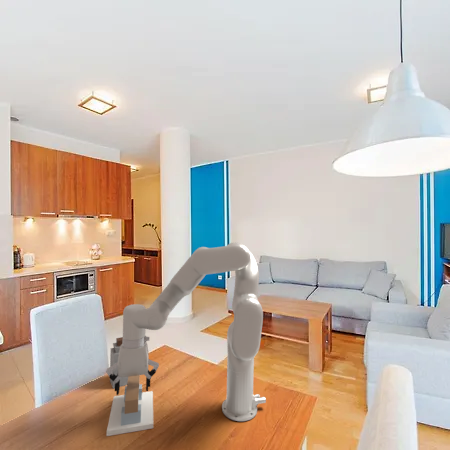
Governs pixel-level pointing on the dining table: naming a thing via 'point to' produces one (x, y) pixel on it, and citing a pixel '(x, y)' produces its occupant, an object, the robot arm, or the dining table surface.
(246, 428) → the dining table surface
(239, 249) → the robot arm
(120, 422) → the stand
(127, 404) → the long tan plank
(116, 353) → the perfume bottle
